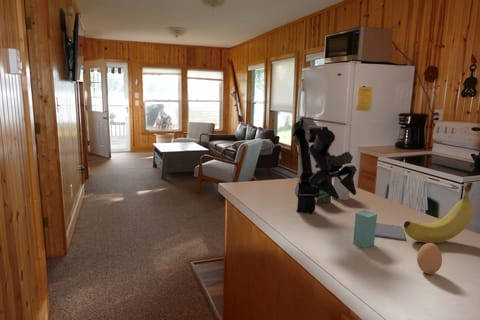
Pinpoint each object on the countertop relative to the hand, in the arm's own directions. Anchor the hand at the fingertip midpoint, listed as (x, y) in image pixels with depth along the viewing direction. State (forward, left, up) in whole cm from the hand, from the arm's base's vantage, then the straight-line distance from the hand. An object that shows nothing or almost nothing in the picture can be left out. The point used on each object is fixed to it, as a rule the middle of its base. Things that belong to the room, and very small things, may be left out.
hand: (346, 196), depth 112 cm
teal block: (+6, -5, -13) cm, 16 cm away
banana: (+28, +6, -14) cm, 32 cm away
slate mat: (+13, +9, -13) cm, 21 cm away
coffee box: (-11, +34, -14) cm, 38 cm away
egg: (+22, -18, -14) cm, 32 cm away
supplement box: (-4, +46, -14) cm, 48 cm away
